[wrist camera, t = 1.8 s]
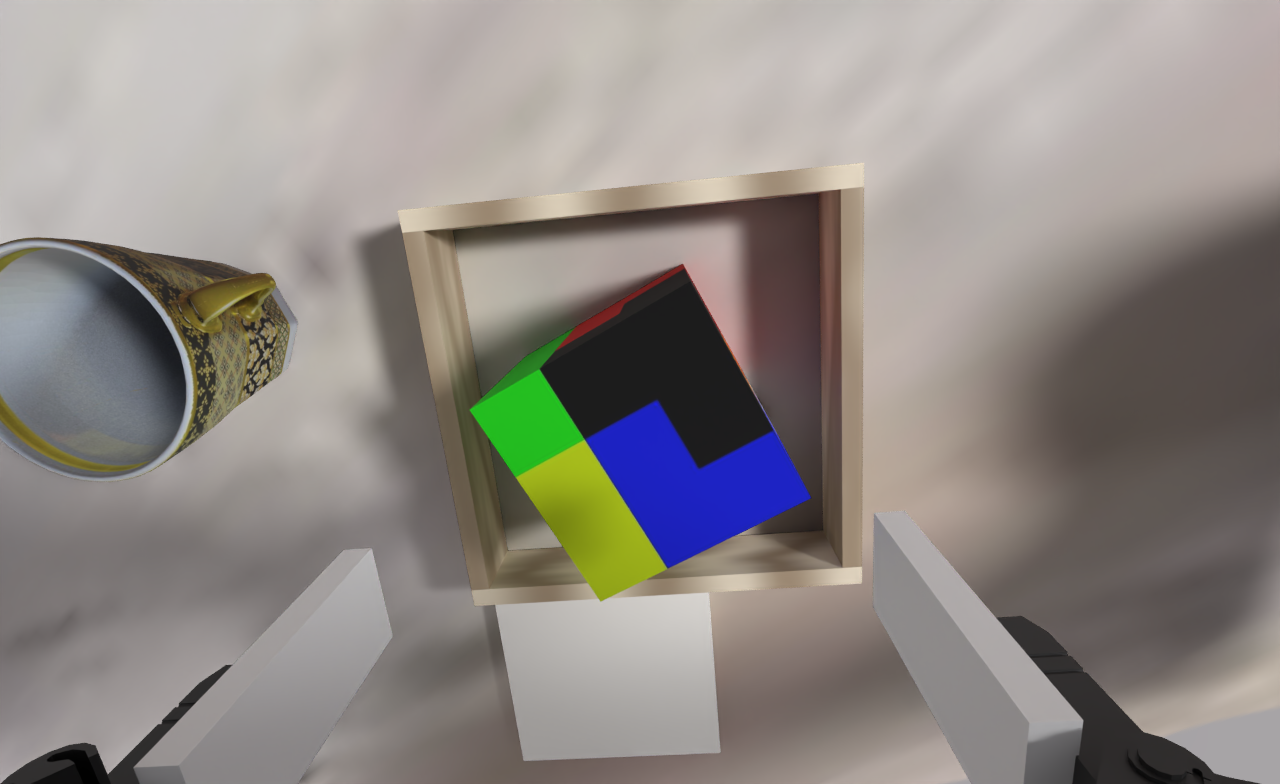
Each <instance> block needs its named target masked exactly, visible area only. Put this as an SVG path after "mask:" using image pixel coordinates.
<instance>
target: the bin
mask: <svg viewBox="0 0 1280 784" xmlns="http://www.w3.org/2000/svg"><path fill="white" fill-rule="evenodd" d="M818 193H819V262H820V333H821V404H822V475H823V531H809V532H793V533H777V534H762V535H746V536H734V537H732V538H729V539H727V540H725V541H723V542H721V543H719V544H717V545H715V546H713V547H711V548H709V549H707V550H705V551H703V552H701V553H699V554H697V555H695V556H693V557H691V558H689V559H687V560H685V561H683V562H681V563H679V564H677V565H675V566H673V567H670V568H668V569H666V570H664V571H662V572H660V573H658V574H656V575H654V576H652V577H650V578H648V579H646V580H644V581H642V582H640V583H638V584H636V585H634V586H632V587H630V588H628V589H626V590H624V591H622V592H620V593H618V594H616V595H614V596H612V597H609V598H622V597H639V596H657V595H674V594H691V593H708V592H725V591H742V590H759V589H777V588H794V587H811V586H828V585H845V584H862V466H863V273H864V163H856V164H847V165H837V166H827V167H817V168H807V169H798V170H788V171H778V172H768V173H759V174H749V175H739V176H729V177H719V178H710V179H700V180H690V181H680V182H671V183H661V184H651V185H641V186H631V187H622V188H612V189H602V190H592V191H582V192H573V193H563V194H553V195H543V196H534V197H524V198H514V199H504V200H494V201H485V202H475V203H465V204H455V205H446V206H436V207H426V208H416V209H406V210H398V214H399V219H400V225H401V230H402V235H403V240H404V245H405V250H406V256H407V261H408V266H409V271H410V276H411V281H412V287H413V292H414V297H415V302H416V307H417V312H418V317H419V323H420V328H421V333H422V338H423V343H424V348H425V354H426V359H427V364H428V369H429V374H430V379H431V385H432V390H433V395H434V400H435V405H436V410H437V416H438V421H439V426H440V431H441V436H442V441H443V447H444V452H445V457H446V462H447V467H448V472H449V478H450V483H451V488H452V493H453V498H454V503H455V509H456V514H457V519H458V524H459V529H460V534H461V540H462V545H463V550H464V555H465V560H466V565H467V571H468V576H469V581H470V586H471V591H472V596H473V601H474V606H485V605H502V604H520V603H537V602H554V601H571V600H588V599H598V597H597V596H596V594H595V593H594V591H593V590H592V589H591V587H590V586H589V584H588V583H587V581H586V580H585V578H584V577H583V575H582V574H581V572H580V571H579V570H578V568H577V567H576V565H575V564H574V562H573V561H572V559H571V558H570V556H569V555H568V553H567V552H566V550H565V549H564V548H563V547H559V548H544V549H528V550H512V551H508V550H507V544H506V538H505V532H504V526H503V521H502V515H501V509H500V503H499V497H498V491H497V486H496V480H495V474H494V468H493V462H492V457H491V451H490V445H489V439H488V436H487V435H486V433H485V432H484V430H483V429H482V427H481V426H480V425H479V423H478V422H477V420H476V419H475V417H474V416H473V414H472V413H471V411H470V409H471V408H472V407H473V406H474V405H475V404H476V403H477V402H478V401H479V400H480V399H481V392H480V387H479V381H478V375H477V369H476V363H475V357H474V352H473V346H472V340H471V334H470V328H469V323H468V317H467V311H466V305H465V299H464V293H463V288H462V282H461V276H460V270H459V264H458V258H457V253H456V247H455V241H454V235H453V230H456V229H467V228H477V227H487V226H497V225H507V224H517V223H527V222H537V221H547V220H557V219H567V218H577V217H587V216H597V215H607V214H617V213H627V212H637V211H647V210H658V209H668V208H678V207H688V206H698V205H708V204H718V203H728V202H738V201H748V200H758V199H768V198H778V197H788V196H798V195H808V194H818Z"/></svg>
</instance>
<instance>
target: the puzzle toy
mask: <svg viewBox="0 0 1280 784" xmlns="http://www.w3.org/2000/svg"><path fill="white" fill-rule="evenodd" d="M470 411H471V413H472V414H473V416H474V417H475V419H476V420H477V422H478V423H479V425H480V426H481V427H482V429H483V430H484V432H485V433H486V435H487V436H488V438H489V439H490V441H491V442H492V444H493V445H494V447H495V448H496V449H497V451H498V452H499V454H500V455H501V457H502V458H503V460H504V461H505V463H506V464H507V466H508V467H509V468H510V470H511V471H512V473H513V474H514V476H515V477H516V479H517V480H518V482H519V483H520V485H521V486H522V488H523V489H524V490H525V492H526V493H527V495H528V496H529V498H530V499H531V501H532V502H533V504H534V505H535V507H536V508H537V509H538V511H539V512H540V514H541V515H542V517H543V518H544V520H545V521H546V523H547V524H548V526H549V527H550V529H551V530H552V531H553V533H554V534H555V536H556V537H557V539H558V540H559V542H560V543H561V545H562V546H563V548H564V549H565V550H566V552H567V553H568V555H569V556H570V558H571V559H572V561H573V562H574V564H575V565H576V567H577V568H578V570H579V571H580V572H581V574H582V575H583V577H584V578H585V580H586V581H587V583H588V584H589V586H590V587H591V589H592V590H593V591H594V593H595V594H596V596H597V597H598V599H599V600H600V602H601V601H603V600H605V599H607V598H609V597H612V596H614V595H616V594H618V593H620V592H622V591H624V590H626V589H628V588H630V587H632V586H634V585H636V584H638V583H640V582H642V581H644V580H646V579H648V578H650V577H652V576H654V575H656V574H658V573H660V572H662V571H664V570H666V569H668V568H670V567H673V566H675V565H677V564H679V563H681V562H683V561H685V560H687V559H689V558H691V557H693V556H695V555H697V554H699V553H701V552H703V551H705V550H707V549H709V548H711V547H713V546H715V545H717V544H719V543H721V542H723V541H725V540H727V539H729V538H732V537H734V536H736V535H738V534H740V533H742V532H744V531H746V530H748V529H750V528H752V527H754V526H756V525H758V524H760V523H762V522H764V521H766V520H768V519H770V518H772V517H774V516H776V515H778V514H780V513H782V512H784V511H786V510H788V509H790V508H793V507H795V506H797V505H799V504H801V503H803V502H805V501H807V500H809V499H811V496H810V494H809V493H808V491H807V489H806V487H805V485H804V483H803V481H802V479H801V478H800V476H799V474H798V472H797V470H796V468H795V466H794V464H793V463H792V461H791V459H790V457H789V455H788V453H787V451H786V449H785V448H784V446H783V444H782V442H781V440H780V438H779V436H778V434H777V433H776V431H775V429H774V427H773V425H772V423H771V421H770V419H769V418H768V416H767V414H766V412H765V410H764V409H763V407H762V405H761V403H760V402H759V400H758V398H757V396H756V394H755V393H754V391H753V389H752V387H751V385H750V384H749V382H748V380H747V378H746V376H745V375H744V373H743V371H742V369H741V367H740V366H739V364H738V362H737V360H736V358H735V357H734V355H733V353H732V351H731V349H730V348H729V346H728V344H727V342H726V340H725V339H724V337H723V335H722V333H721V331H720V330H719V328H718V326H717V324H716V322H715V321H714V319H713V317H712V315H711V313H710V312H709V310H708V308H707V306H706V304H705V303H704V301H703V299H702V297H701V295H700V294H699V292H698V290H697V288H696V286H695V285H694V283H693V281H692V279H691V278H690V276H689V274H688V272H687V270H686V269H685V267H684V265H683V264H682V265H680V266H678V267H677V268H675V269H673V270H672V271H670V272H668V273H666V274H665V275H663V276H661V277H660V278H658V279H656V280H655V281H653V282H651V283H649V284H648V285H646V286H644V287H643V288H641V289H639V290H638V291H636V292H634V293H632V294H631V295H629V296H627V297H626V298H624V299H622V300H621V301H619V302H617V303H615V304H614V305H612V306H610V307H609V308H607V309H605V310H604V311H602V312H600V313H598V314H597V315H595V316H593V317H592V318H590V319H588V320H587V321H585V322H583V323H581V324H580V325H578V326H576V327H575V328H573V329H571V330H570V331H568V332H566V333H564V334H563V335H561V336H559V337H558V338H556V339H554V340H553V341H551V342H549V343H548V344H546V345H544V346H542V347H541V348H539V349H537V350H536V351H534V352H532V353H531V354H529V355H527V356H525V357H524V358H523V359H522V360H521V361H520V362H519V363H518V364H517V365H516V366H515V367H514V368H513V369H512V370H511V371H510V372H509V373H508V374H507V375H505V376H504V377H503V378H502V379H501V380H500V381H499V382H498V383H497V384H496V385H495V386H494V387H493V388H492V389H491V390H490V391H489V392H488V393H486V394H485V395H484V396H483V397H482V398H481V399H480V400H479V401H478V402H477V403H476V404H475V405H474V406H473V407H472V408H471V409H470Z"/></svg>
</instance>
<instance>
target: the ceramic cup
mask: <svg viewBox="0 0 1280 784" xmlns="http://www.w3.org/2000/svg"><path fill="white" fill-rule="evenodd" d="M297 325H298V322H297V320H296V318H295V316H294V315H293V313H292V311H291V310H290V308H289V306H288V305H287V303H286V301H285V300H284V298H283V296H282V295H281V293H280V291H279V290H278V288H277V287H276V283H275V281H274V279H273V278H272V276H270V275H269V274H266V273H256V274H251V273H248V272H245V271H243V270H240V269H237V268H235V267H232V266H229V265H226V264H223V263H216V262H211V261H204V260H196V259H188V258H182V257H175V256H168V255H162V254H154V253H145V252H141V251H137V250H133V249H129V248H125V247H120V246H114V245H108V244H101V243H95V242H88V241H80V240H70V239H55V238H24V239H18V240H13V241H10V242H6V243H3V244H0V440H2V441H3V442H4V443H5V444H6V445H8V446H9V447H10V448H11V449H13V450H14V451H15V452H17V453H18V454H20V455H21V456H23V457H24V458H26V459H28V460H29V461H31V462H32V463H34V464H36V465H38V466H40V467H42V468H45V469H47V470H49V471H52V472H54V473H57V474H60V475H63V476H66V477H70V478H74V479H79V480H84V481H95V482H113V481H121V480H126V479H130V478H134V477H138V476H141V475H143V474H145V473H147V472H150V471H152V470H153V469H155V468H157V467H159V466H160V465H162V464H163V463H165V462H166V461H167V460H169V459H170V458H172V457H173V456H175V455H176V454H178V453H179V452H181V451H182V450H184V449H185V448H187V447H188V446H189V445H191V444H192V443H194V442H195V441H196V440H197V439H199V438H200V437H201V436H203V435H204V434H205V433H207V432H208V431H209V430H210V429H212V428H213V427H214V426H215V425H217V424H218V423H219V422H220V421H221V420H222V419H223V418H224V417H225V416H227V415H228V414H229V413H230V412H231V411H232V410H233V409H234V408H235V407H236V406H238V405H239V404H241V403H242V402H244V401H245V400H246V399H248V398H249V397H250V396H252V395H253V394H254V393H256V392H257V391H258V390H260V389H261V388H262V387H264V386H265V385H266V384H267V383H269V382H270V381H272V380H273V379H275V378H276V377H278V376H279V375H280V374H281V373H282V372H284V371H285V370H286V369H287V368H288V366H289V362H290V358H291V354H292V349H293V344H294V340H295V335H296V330H297Z"/></svg>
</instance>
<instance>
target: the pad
mask: <svg viewBox="0 0 1280 784" xmlns="http://www.w3.org/2000/svg"><path fill="white" fill-rule="evenodd" d="M495 607H496V613H497V618H498V624H499V629H500V635H501V640H502V645H503V651H504V656H505V662H506V667H507V673H508V678H509V684H510V689H511V695H512V700H513V706H514V711H515V717H516V722H517V727H518V733H519V738H520V744H521V749H522V755H523V760H524V761H537V760H562V759H586V758H610V757H634V756H658V755H683V754H707V753H721V751H720V737H719V724H718V710H717V696H716V683H715V669H714V655H713V641H712V628H711V614H710V600H709V592H708V593H691V594H674V595H657V596H639V597H622V598H607V599H605V600H603V601H601V602H600V600H599V599H588V600H571V601H554V602H537V603H520V604H502V605H495Z"/></svg>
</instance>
